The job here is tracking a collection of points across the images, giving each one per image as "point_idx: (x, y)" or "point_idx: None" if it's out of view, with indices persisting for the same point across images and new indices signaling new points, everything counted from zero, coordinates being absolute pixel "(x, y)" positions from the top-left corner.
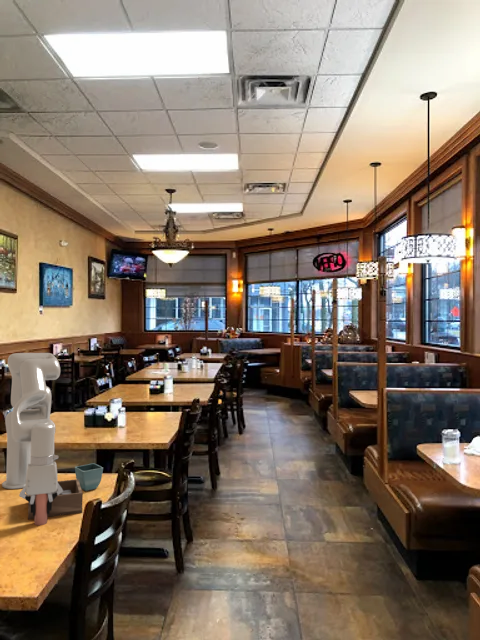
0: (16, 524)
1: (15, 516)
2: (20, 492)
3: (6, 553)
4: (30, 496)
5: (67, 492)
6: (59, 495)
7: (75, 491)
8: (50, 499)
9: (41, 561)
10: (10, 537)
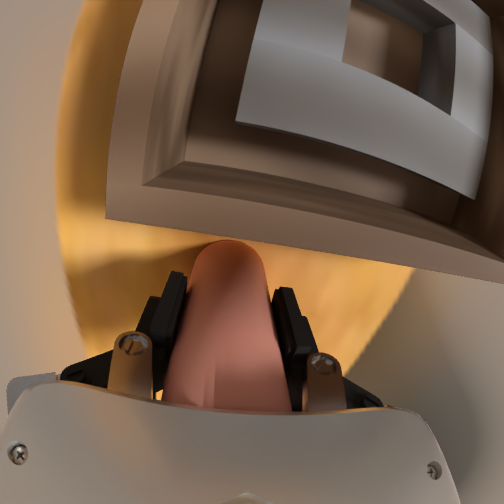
0: (101, 224)
1: (106, 83)
2: (9, 404)
3: None
4: (134, 111)
5: (478, 36)
6: (432, 263)
7: (490, 17)
8: (298, 411)
9: None
10: (99, 352)
